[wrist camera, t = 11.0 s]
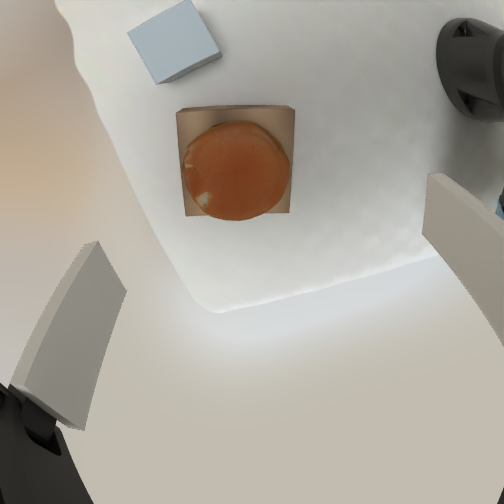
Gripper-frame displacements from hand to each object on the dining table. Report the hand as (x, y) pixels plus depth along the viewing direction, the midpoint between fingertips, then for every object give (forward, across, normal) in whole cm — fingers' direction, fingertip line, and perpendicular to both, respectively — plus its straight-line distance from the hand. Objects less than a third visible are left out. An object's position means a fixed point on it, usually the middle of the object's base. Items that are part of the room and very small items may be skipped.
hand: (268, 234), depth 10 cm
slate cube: (+22, +4, -10) cm, 25 cm away
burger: (+18, +2, +3) cm, 19 cm away
